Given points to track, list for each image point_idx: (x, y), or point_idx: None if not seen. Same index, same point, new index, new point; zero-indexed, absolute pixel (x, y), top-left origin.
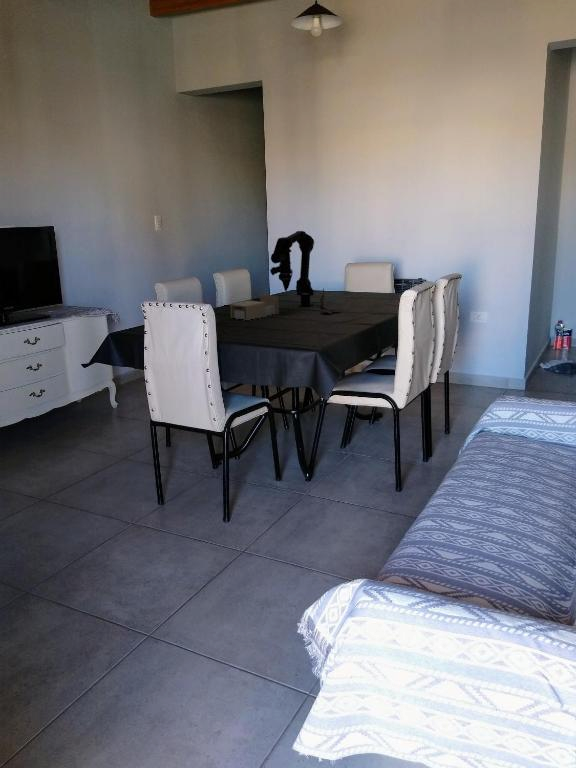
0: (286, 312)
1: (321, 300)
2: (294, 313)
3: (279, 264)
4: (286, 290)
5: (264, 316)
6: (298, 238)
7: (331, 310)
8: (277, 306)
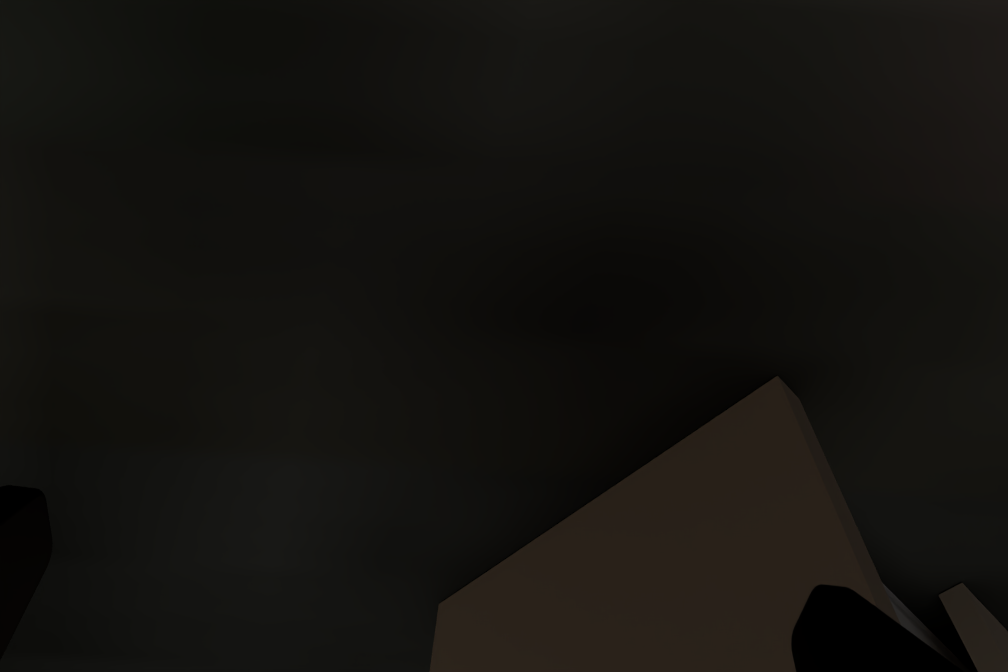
0: (602, 213)
1: None
2: (816, 38)
3: None
4: (849, 603)
5: (984, 612)
6: None
7: None
8: (845, 505)
